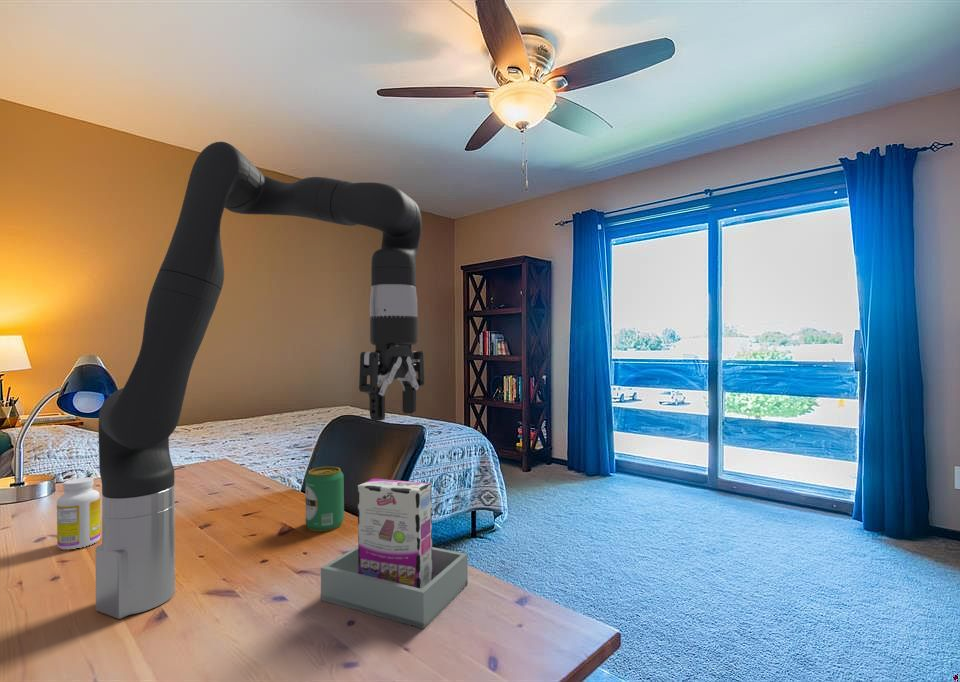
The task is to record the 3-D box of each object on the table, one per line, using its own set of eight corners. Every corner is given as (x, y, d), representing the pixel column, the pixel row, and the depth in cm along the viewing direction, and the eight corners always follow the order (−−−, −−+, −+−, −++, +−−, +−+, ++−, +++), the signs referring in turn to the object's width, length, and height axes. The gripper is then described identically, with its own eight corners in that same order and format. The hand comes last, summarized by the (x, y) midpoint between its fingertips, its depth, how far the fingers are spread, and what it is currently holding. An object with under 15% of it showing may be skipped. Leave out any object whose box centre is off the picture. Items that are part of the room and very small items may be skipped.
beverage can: (299, 525, 106) (298, 470, 106) (332, 516, 112) (332, 464, 112) (316, 535, 100) (316, 477, 101) (350, 525, 106) (350, 470, 106)
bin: (423, 628, 67) (423, 592, 67) (320, 599, 75) (320, 567, 75) (467, 584, 79) (467, 553, 79) (375, 563, 87) (375, 535, 87)
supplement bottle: (95, 535, 102) (95, 474, 102) (104, 543, 97) (104, 479, 97) (53, 545, 96) (53, 481, 96) (61, 554, 92) (60, 487, 92)
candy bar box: (434, 584, 78) (433, 482, 78) (419, 600, 73) (419, 491, 73) (373, 573, 82) (373, 476, 82) (356, 587, 77) (356, 484, 77)
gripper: (386, 311, 69) (386, 424, 69) (436, 316, 82) (437, 412, 82) (345, 313, 73) (345, 421, 72) (400, 318, 85) (400, 409, 85)
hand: (394, 416), depth 77 cm, fingers open, 8 cm apart
